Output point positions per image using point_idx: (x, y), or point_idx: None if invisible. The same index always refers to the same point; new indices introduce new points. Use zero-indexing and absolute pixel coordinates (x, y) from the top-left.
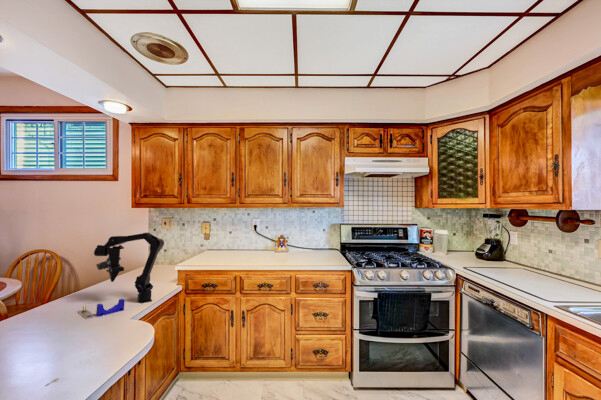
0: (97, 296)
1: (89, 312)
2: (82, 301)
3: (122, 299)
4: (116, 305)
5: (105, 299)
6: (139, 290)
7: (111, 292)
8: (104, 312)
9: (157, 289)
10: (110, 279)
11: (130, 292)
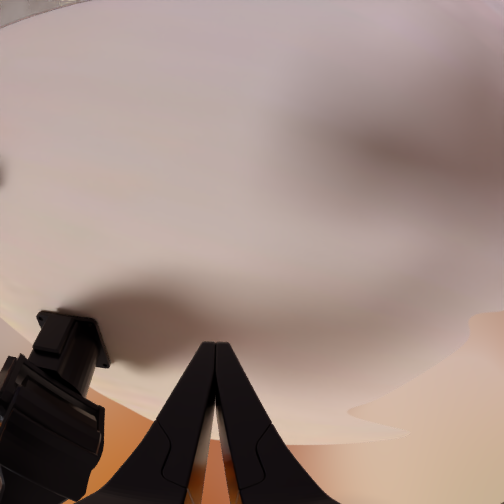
0: (465, 199)
1: (10, 18)
2: (429, 66)
3: None
4: None
5: (337, 200)
6: (9, 368)
7: (464, 290)
8: None
9: (288, 432)
10: (239, 370)
11: (361, 358)
